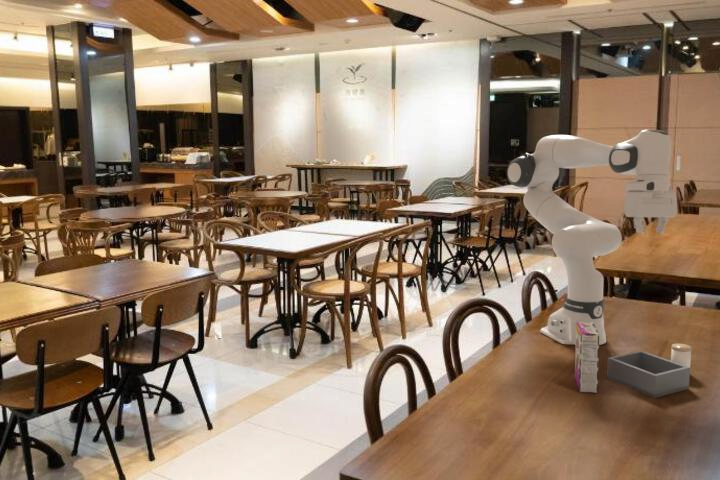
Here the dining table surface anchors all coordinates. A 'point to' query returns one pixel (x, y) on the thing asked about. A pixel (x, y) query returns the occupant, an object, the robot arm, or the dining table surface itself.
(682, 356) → the jar
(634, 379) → the tote
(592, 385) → the candy bar box
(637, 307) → the dining table surface
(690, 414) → the dining table surface
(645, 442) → the dining table surface
